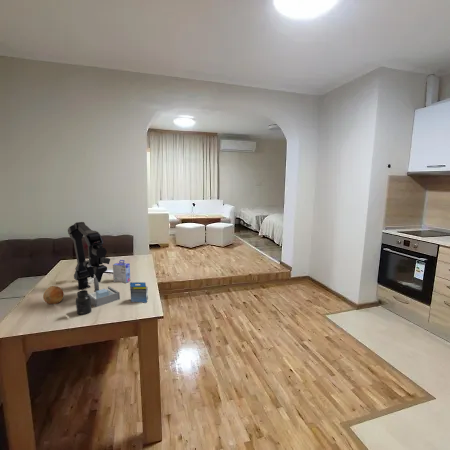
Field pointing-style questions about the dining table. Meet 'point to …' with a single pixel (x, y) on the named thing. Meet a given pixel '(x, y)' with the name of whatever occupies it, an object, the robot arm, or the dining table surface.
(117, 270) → the ink cartridge box
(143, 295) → the label tape cartridge
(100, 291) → the light blue cube
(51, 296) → the onion
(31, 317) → the dining table surface
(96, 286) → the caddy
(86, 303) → the supplement bottle
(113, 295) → the bay
